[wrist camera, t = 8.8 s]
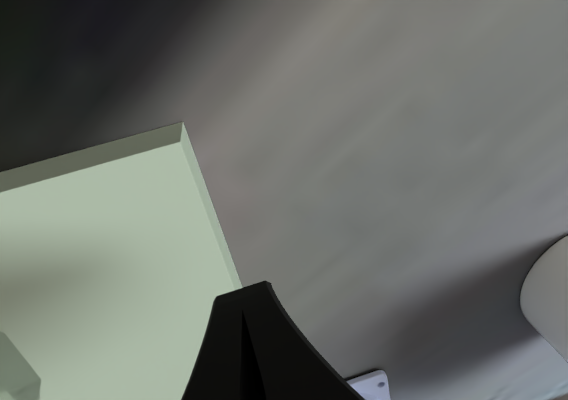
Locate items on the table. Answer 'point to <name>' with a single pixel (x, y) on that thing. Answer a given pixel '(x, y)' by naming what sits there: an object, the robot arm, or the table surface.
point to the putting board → (108, 271)
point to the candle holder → (549, 296)
